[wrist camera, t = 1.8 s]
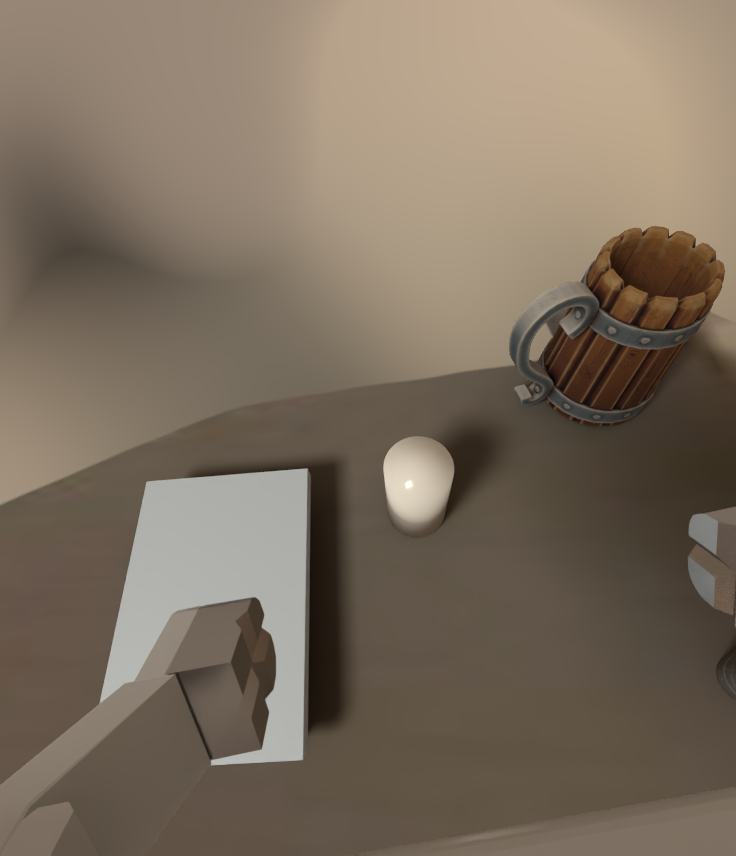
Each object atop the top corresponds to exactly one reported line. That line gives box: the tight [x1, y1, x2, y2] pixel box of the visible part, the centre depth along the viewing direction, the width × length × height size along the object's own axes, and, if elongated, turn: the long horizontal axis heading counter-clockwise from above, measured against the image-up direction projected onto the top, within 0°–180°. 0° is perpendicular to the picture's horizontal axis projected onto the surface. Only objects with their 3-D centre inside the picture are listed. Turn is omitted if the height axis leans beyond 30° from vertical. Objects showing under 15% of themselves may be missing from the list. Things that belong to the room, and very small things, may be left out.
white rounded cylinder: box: [384, 436, 454, 538], centre depth 35 cm, size 5×5×9 cm
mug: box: [509, 226, 725, 427], centre depth 38 cm, size 16×11×15 cm
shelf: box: [100, 468, 311, 765], centre depth 35 cm, size 20×14×4 cm
